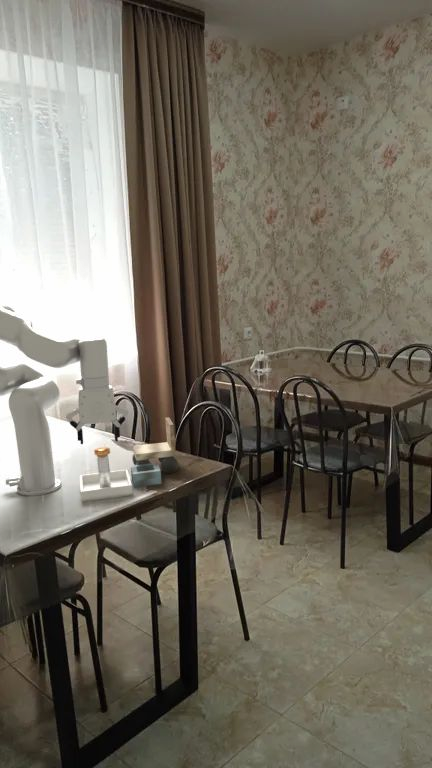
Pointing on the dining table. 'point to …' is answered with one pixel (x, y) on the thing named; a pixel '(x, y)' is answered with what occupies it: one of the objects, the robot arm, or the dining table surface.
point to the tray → (94, 492)
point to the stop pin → (103, 466)
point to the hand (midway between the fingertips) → (99, 441)
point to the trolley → (165, 452)
